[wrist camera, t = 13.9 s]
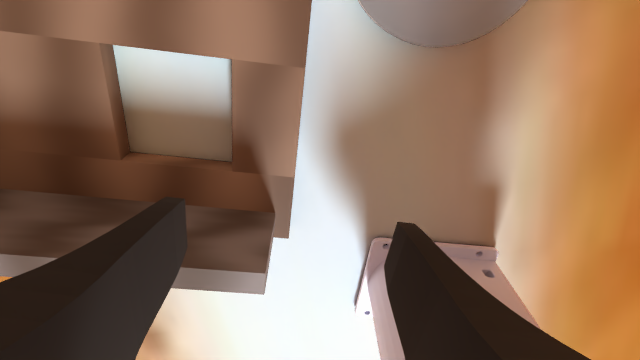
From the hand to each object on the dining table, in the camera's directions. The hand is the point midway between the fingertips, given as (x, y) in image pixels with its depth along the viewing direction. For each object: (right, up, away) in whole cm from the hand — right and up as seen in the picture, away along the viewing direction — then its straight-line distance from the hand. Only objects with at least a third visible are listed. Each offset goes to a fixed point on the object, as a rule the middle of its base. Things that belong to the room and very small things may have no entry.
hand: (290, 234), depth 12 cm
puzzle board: (-13, +6, +8) cm, 17 cm away
